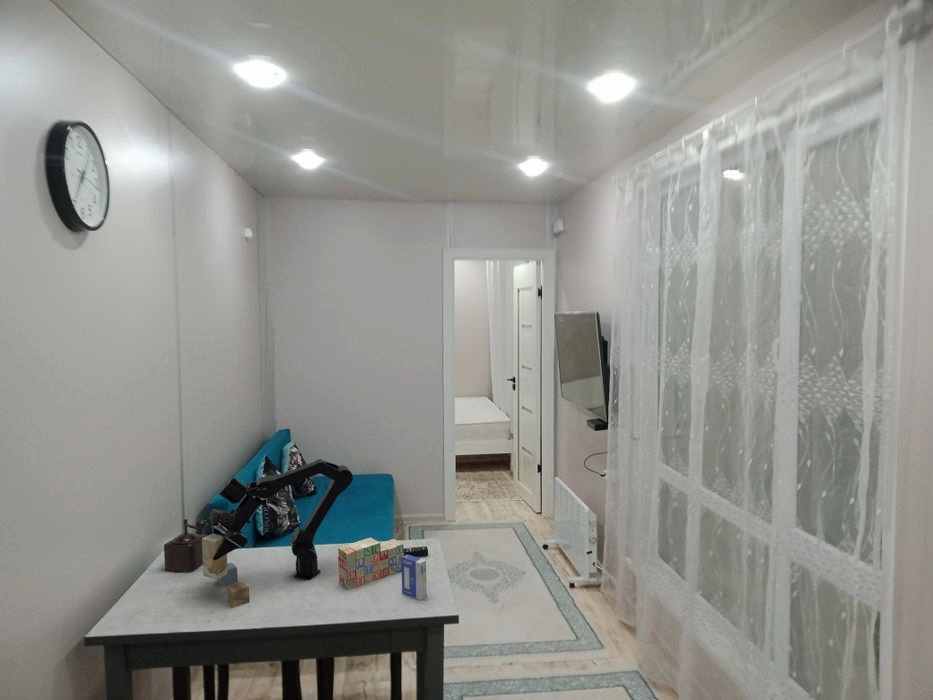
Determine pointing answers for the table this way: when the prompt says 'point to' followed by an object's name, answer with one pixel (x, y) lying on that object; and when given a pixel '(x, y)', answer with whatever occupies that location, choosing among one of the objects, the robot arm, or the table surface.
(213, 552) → the skincare box
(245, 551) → the table surface
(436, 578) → the table surface
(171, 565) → the manual coffee grinder
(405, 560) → the walkman
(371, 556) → the stack of blocks
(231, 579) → the slate cube
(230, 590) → the walnut cube
